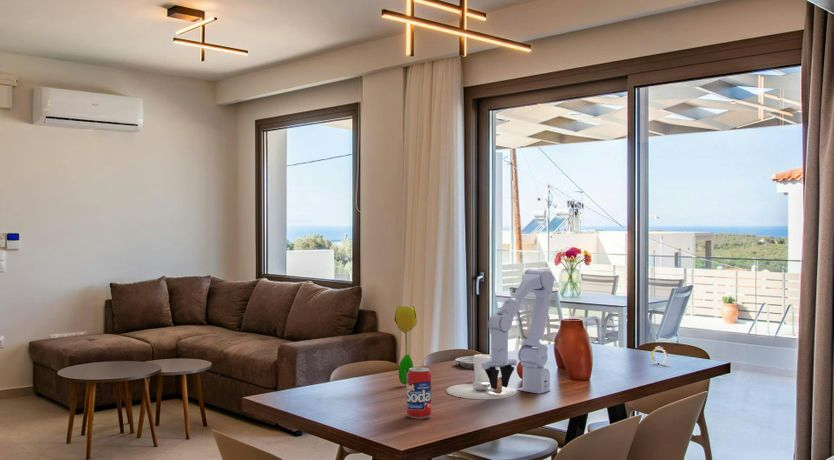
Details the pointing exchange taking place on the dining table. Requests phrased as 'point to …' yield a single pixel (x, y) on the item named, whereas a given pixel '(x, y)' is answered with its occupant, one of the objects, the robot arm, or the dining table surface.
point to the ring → (659, 349)
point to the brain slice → (466, 362)
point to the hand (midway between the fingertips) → (499, 387)
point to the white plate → (479, 392)
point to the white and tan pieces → (488, 386)
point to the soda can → (419, 393)
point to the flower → (405, 323)
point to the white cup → (479, 372)
